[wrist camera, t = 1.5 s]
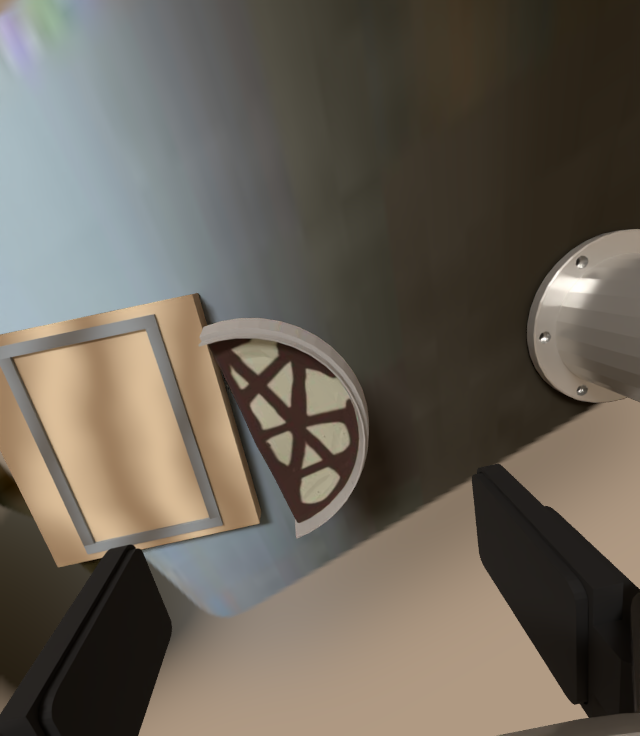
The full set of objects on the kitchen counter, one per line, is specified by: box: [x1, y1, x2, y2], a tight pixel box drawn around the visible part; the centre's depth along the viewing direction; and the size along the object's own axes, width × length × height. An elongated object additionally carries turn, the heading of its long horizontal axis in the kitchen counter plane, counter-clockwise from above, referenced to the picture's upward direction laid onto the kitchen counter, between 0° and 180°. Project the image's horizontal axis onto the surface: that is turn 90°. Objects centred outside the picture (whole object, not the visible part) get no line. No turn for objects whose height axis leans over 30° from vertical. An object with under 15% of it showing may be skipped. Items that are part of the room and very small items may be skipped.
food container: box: [199, 318, 369, 538], centre depth 23 cm, size 12×6×10 cm, turn 22°
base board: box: [0, 293, 261, 567], centre depth 27 cm, size 16×18×2 cm
